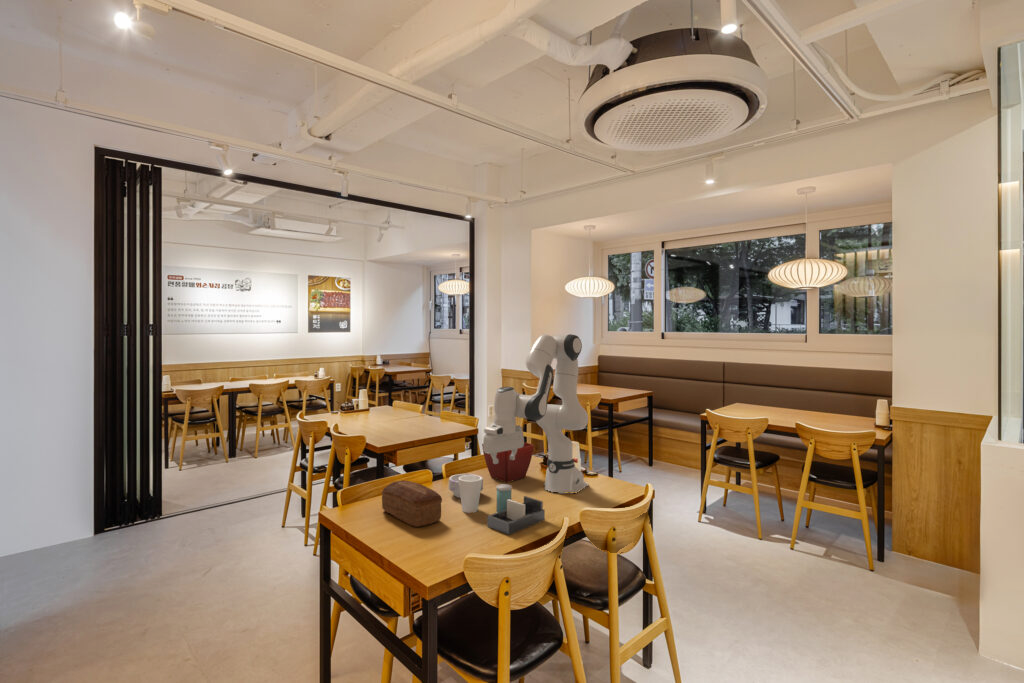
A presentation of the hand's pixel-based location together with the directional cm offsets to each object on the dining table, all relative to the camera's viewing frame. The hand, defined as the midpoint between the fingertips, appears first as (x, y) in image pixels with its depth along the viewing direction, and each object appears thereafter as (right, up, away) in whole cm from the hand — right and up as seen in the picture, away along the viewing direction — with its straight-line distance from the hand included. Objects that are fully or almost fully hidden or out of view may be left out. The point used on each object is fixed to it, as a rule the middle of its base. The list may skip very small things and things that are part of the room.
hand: (504, 461), depth 197 cm
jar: (0, -20, 0) cm, 20 cm away
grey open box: (+5, -20, -13) cm, 24 cm away
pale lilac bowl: (-17, -20, +19) cm, 33 cm away
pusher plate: (+5, -19, -13) cm, 23 cm away
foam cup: (-14, -20, +1) cm, 24 cm away
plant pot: (+1, -20, +47) cm, 51 cm away
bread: (-36, -20, -7) cm, 42 cm away
